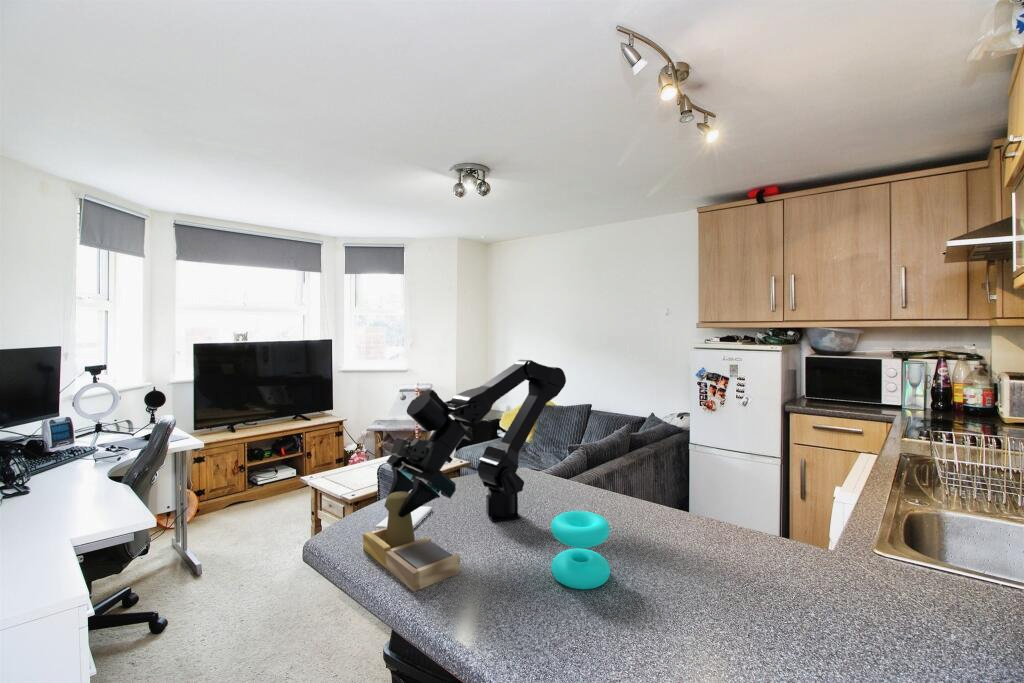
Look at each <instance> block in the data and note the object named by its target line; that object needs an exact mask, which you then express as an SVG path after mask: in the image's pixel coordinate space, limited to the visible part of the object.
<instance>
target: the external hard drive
mask: <svg viewBox="0 0 1024 683" xmlns="http://www.w3.org/2000/svg"><path fill="white" fill-rule="evenodd" d="M432 510H433V507H432V506H425V505H422V506H421V507H419V508H417V509H416V510H414V511H412V512H411V518H412V524H413V529H414V527H415V526H417V524H418V523H419V522H420V521H421V520H422V519H423V518H424V517H425V516H426V515H428V514H429V513H430V512H431V511H432ZM432 512H433V511H432ZM432 512H431V513H432ZM431 513H430V514H431ZM430 514H429V515H430ZM429 515H428V516H429ZM387 523H388V516H386V517H385V518H384V519H383V520H381V521H380V522H379V523H378V524H377V525H375V527H374V528H379V529H382V528H385V527H387ZM417 527H418V526H417ZM414 530H415V529H414Z"/></svg>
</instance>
